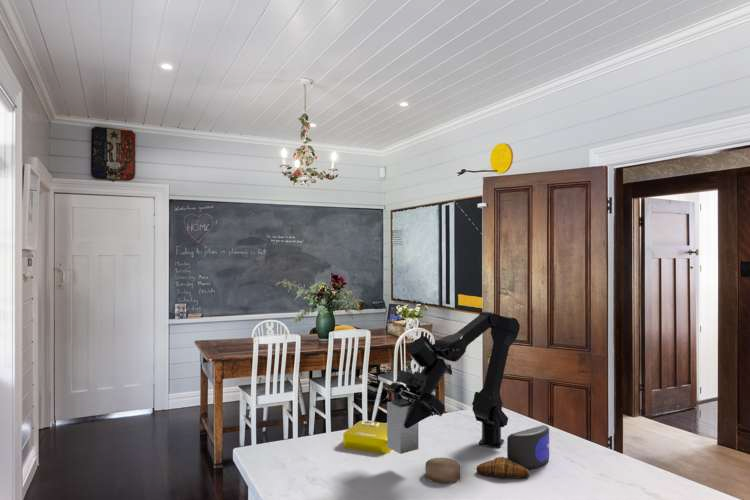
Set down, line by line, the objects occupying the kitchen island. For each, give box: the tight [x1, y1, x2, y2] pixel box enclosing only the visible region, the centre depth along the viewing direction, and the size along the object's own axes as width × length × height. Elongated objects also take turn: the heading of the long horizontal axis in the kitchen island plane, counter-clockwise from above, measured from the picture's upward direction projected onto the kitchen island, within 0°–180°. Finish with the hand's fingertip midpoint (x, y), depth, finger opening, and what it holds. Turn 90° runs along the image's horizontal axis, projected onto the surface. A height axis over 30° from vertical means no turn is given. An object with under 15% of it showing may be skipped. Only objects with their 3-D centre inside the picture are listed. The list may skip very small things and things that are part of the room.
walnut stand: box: [425, 457, 462, 485], centre depth 132 cm, size 9×9×3 cm
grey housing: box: [386, 399, 419, 455], centre depth 136 cm, size 6×6×12 cm
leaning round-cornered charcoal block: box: [506, 425, 550, 470], centre depth 139 cm, size 16×5×9 cm, turn 123°
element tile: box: [342, 419, 393, 454], centre depth 156 cm, size 15×15×5 cm
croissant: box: [475, 456, 530, 479], centre depth 133 cm, size 14×7×5 cm, turn 79°
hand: (398, 424), depth 135 cm, fingers closed on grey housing, 6 cm apart
